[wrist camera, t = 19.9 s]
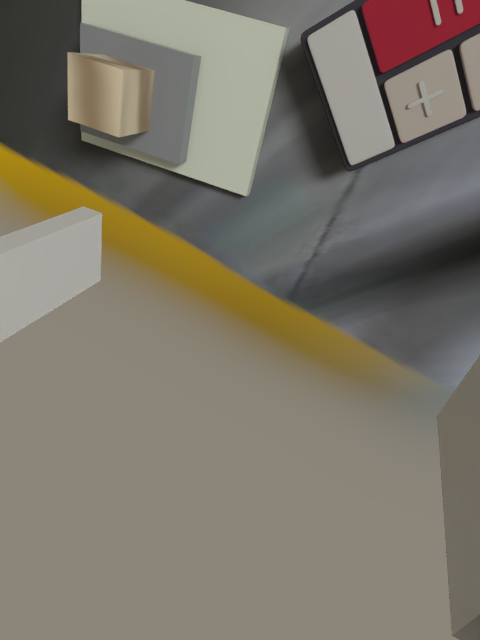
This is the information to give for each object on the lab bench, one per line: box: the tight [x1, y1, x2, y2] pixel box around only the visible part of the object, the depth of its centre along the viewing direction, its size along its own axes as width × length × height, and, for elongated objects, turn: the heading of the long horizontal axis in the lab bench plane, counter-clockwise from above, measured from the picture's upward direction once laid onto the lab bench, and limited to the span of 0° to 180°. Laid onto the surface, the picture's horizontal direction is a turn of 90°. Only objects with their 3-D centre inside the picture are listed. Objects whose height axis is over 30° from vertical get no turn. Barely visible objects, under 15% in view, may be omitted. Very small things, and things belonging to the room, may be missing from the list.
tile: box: [80, 22, 201, 164], centre depth 38 cm, size 2×9×11 cm
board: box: [81, 0, 289, 196], centre depth 39 cm, size 19×14×1 cm
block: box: [68, 52, 155, 137], centre depth 35 cm, size 5×5×5 cm
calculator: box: [301, 0, 480, 171], centre depth 31 cm, size 11×4×15 cm
